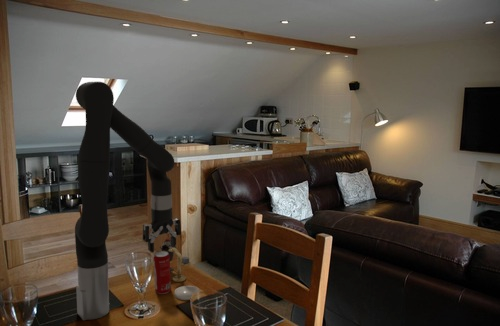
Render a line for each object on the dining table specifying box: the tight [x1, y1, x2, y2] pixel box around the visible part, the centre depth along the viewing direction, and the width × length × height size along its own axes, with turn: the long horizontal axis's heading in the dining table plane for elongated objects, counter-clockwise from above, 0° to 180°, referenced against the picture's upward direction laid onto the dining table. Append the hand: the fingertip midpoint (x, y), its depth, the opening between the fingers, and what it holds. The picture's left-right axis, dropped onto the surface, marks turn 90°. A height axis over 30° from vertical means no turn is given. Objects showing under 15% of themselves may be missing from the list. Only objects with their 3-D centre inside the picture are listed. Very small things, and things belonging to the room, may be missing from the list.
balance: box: [169, 247, 191, 283], centre depth 156 cm, size 5×13×12 cm, turn 41°
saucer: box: [174, 285, 200, 301], centre depth 145 cm, size 9×9×1 cm
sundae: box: [159, 233, 177, 273], centre depth 165 cm, size 7×7×15 cm
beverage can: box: [153, 250, 172, 295], centre depth 146 cm, size 6×6×15 cm
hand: (162, 249), depth 145 cm, fingers open, 8 cm apart
